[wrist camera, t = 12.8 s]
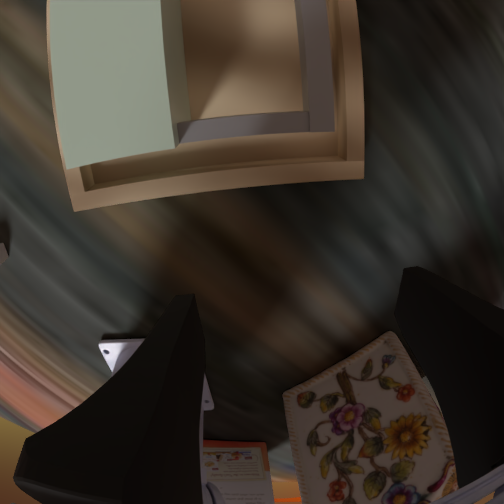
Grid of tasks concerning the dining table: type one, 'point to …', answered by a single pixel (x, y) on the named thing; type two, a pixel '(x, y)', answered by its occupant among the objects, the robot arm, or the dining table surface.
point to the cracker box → (239, 471)
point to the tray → (241, 108)
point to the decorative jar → (369, 432)
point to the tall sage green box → (159, 80)
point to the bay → (3, 253)
